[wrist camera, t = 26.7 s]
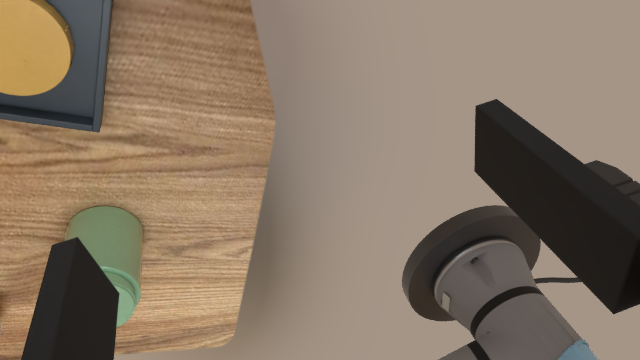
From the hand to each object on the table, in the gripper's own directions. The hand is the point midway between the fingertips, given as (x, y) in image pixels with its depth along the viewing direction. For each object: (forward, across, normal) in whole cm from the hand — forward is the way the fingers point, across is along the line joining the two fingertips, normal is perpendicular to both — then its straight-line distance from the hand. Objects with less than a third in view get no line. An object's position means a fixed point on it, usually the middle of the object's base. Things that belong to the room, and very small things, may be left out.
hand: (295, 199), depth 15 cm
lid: (+29, -16, 0) cm, 33 cm away
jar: (+31, -19, -21) cm, 42 cm away
